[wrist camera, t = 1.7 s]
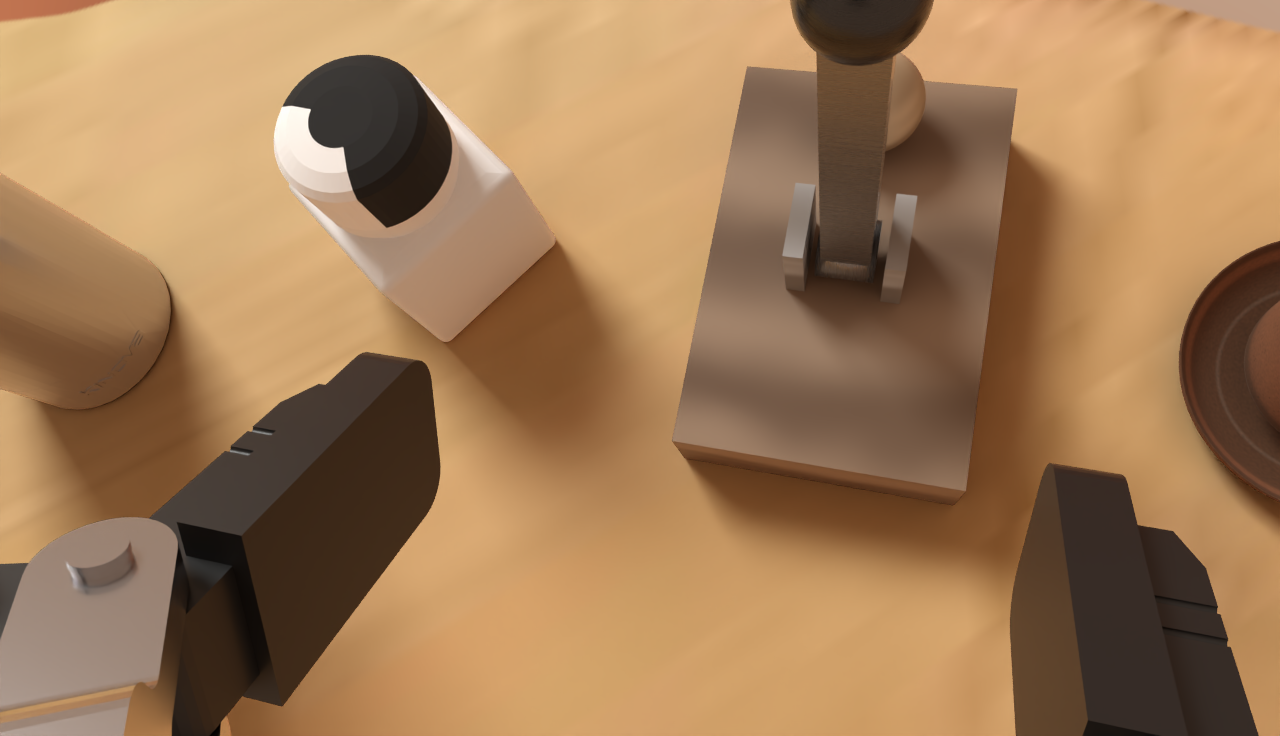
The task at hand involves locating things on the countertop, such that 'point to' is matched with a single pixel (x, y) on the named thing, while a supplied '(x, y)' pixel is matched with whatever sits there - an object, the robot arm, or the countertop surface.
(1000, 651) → the countertop surface
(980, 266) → the bench block
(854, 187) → the lever
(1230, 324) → the cup and saucer
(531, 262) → the container
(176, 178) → the countertop surface
